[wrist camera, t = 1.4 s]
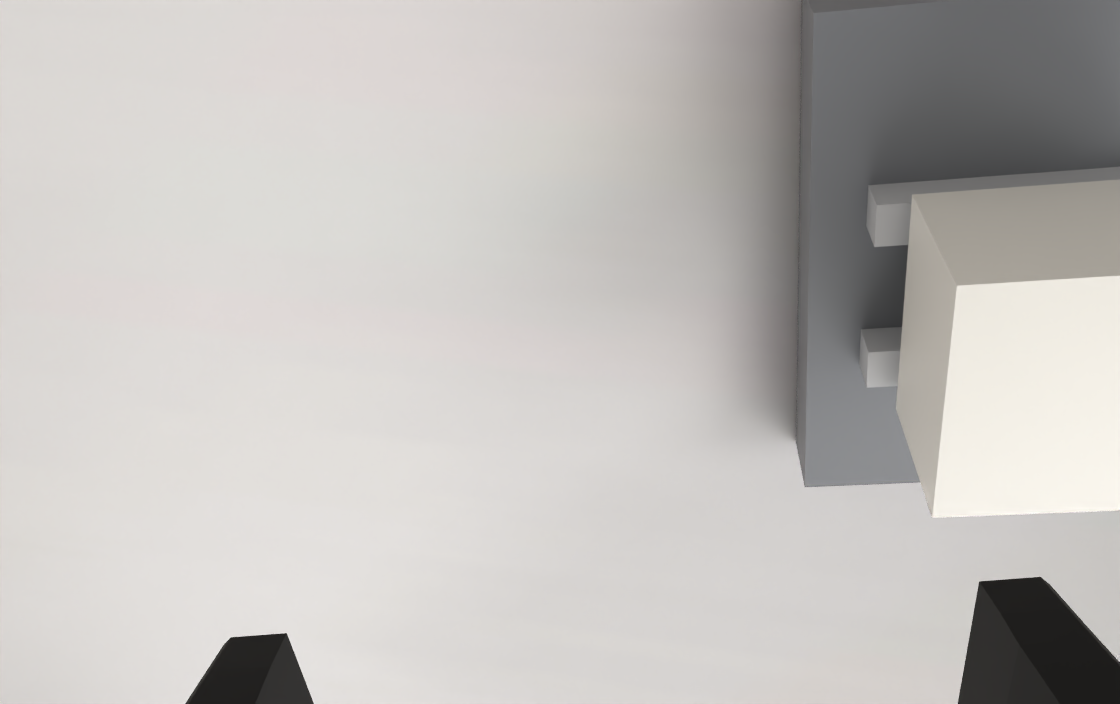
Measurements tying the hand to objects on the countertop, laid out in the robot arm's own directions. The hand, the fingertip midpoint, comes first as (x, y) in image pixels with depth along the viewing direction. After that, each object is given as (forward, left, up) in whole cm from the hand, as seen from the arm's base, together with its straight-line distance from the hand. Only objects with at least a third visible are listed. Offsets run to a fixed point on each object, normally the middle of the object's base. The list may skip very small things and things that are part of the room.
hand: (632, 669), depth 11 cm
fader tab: (-1, -7, -10) cm, 12 cm away
